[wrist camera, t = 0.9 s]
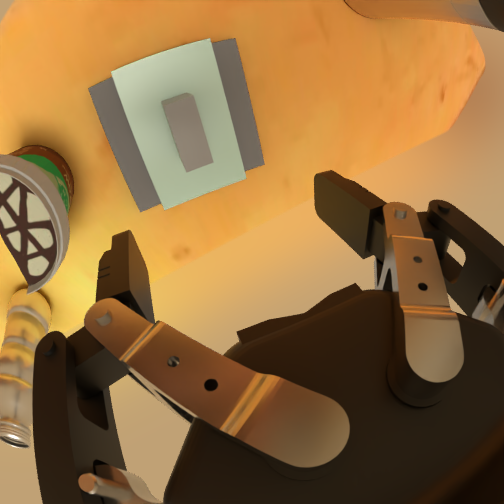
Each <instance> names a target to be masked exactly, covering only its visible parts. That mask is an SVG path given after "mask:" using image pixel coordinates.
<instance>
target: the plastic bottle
mask: <svg viewBox="0 0 504 504" xmlns="http://www.w3.org/2000/svg"><path fill="white" fill-rule="evenodd" d="M27 290H28V289H21V290H19V291H17V292H16V293H14V295H13V297H12V298H11V300H10V302H9V305H8V310H7V323H6V329H5V335H4V341H3V344H2V348H1V351H0V440H1V441H3V442H5V443H7V444H9V445H11V446H14V447H17V448H22V449H29V448H30V437H31V431H30V430H29V426H30V425H31V424H32V423H33V416H32V390H33V368H34V355H35V349H36V347H37V345H38V343H39V341H40V340H41V339H42V338H43V337H44V336H45V335H46V334H47V333H48V330H49V327H50V324H51V310H50V307H49V304H48V302H47V301H46V299H45V298H44V297H43V296H42V295H41V294H40V293H39V292H37V291H35V292H33V293H30V294H28V295H27Z"/></svg>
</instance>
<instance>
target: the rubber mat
mask: <svg viewBox="0 0 504 504" xmlns="http://www.w3.org/2000/svg"><path fill="white" fill-rule="evenodd" d="M211 44H212V48H213V51H214V55H215V59H216V63H217V66H218V70H219V74H220V78H221V81H222V85H223V89H224V93H225V97H226V100H227V104H228V108H229V112H230V116H231V120H232V123H233V127H234V131H235V135H236V139H237V143H238V147H239V151H240V155H241V159H242V163H243V167H244V170H245V171H247V170H250V169H253V168H255V167H258V166H261V165H264V159H263V154H262V150H261V145H260V140H259V136H258V131H257V127H256V122H255V118H254V114H253V109H252V105H251V101H250V96H249V92H248V88H247V84H246V79H245V75H244V71H243V67H242V63H241V59H240V55H239V51H238V47H237V43H236V39H235V38H233V39H228V40H224V41H219V42H215V43H211ZM88 89H89V92H90V95H91V97H92V100H93V103H94V106H95V108H96V111H97V114H98V116H99V119H100V121H101V124H102V126H103V129H104V131H105V134H106V136H107V139H108V141H109V144H110V146H111V148H112V151H113V153H114V155H115V158H116V160H117V162H118V165H119V167H120V169H121V172H122V174H123V176H124V178H125V180H126V183H127V185H128V187H129V189H130V191H131V193H132V196H133V198H134V200H135V202H136V204H137V206H138V208H139V210H140V212H142V211H145V210H147V209H149V208H152V207H154V206H156V205H159V204H161V201H160V198H159V196H158V194H157V192H156V189H155V187H154V184H153V182H152V180H151V177H150V175H149V173H148V170H147V168H146V165H145V163H144V160H143V158H142V155H141V153H140V150H139V148H138V145H137V143H136V140H135V138H134V135H133V132H132V130H131V127H130V124H129V122H128V119H127V116H126V114H125V111H124V108H123V105H122V103H121V100H120V97H119V94H118V91H117V88H116V86H115V83H114V80H113V77H111V78H109V79H107V80H105V81H102V82H100V83H98V84H96V85H94V86H92V87H90V88H88Z"/></svg>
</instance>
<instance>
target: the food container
mask: <svg viewBox="0 0 504 504" xmlns="http://www.w3.org/2000/svg"><path fill="white" fill-rule="evenodd" d="M73 194H74V182H73V176H72V173H71V170H70V168H69V166H68V164H67V163H66V162H65V160H64V159H63V158H62V157H61V156H60V155H59V154H58V153H57V152H55V151H54V150H52V149H50V148H48V147H44V146H38V145H32V146H26V147H23V148H21V149H18V150H16V151H14V152H12V153H10V154H8V155H1V154H0V234H1V237H2V239H3V240H4V242H5V244H6V246H7V247H8V249H9V251H10V252H11V254H12V255H13V257H14V259H15V261H16V262H17V264H18V266H19V268H20V270H21V272H22V274H23V276H24V277H25V279H26V281H27V283H28V290H27V295H28V294H30V293H33V292H35V291H37V290H39V289H40V288H41V287H43V286H44V285H45V284H46V283H47V282H48V281H49V280H50V279H51V278H52V277H53V276H54V274H55V273H56V271H57V270H58V268H59V266H60V265H61V263H62V261H63V259H64V258H65V255H66V252H67V249H68V244H69V231H70V229H69V220H68V212H69V208H70V205H71V201H72V197H73Z"/></svg>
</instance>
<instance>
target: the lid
mask: <svg viewBox="0 0 504 504" xmlns="http://www.w3.org/2000/svg"><path fill="white" fill-rule="evenodd" d="M111 74H112V77H113V80H114V83H115V86H116V88H117V91H118V94H119V97H120V100H121V103H122V105H123V108H124V111H125V114H126V116H127V119H128V122H129V124H130V127H131V130H132V132H133V135H134V138H135V140H136V143H137V145H138V148H139V150H140V153H141V155H142V158H143V160H144V163H145V165H146V168H147V170H148V173H149V175H150V177H151V180H152V182H153V184H154V187H155V189H156V192H157V194H158V196H159V198H160V201H161V203H162V205H163V208H164V210H167V209H169V208H171V207H174V206H176V205H179V204H181V203H184V202H186V201H189V200H191V199H194V198H196V197H199V196H201V195H204V194H206V193H209V192H212V191H214V190H217V189H219V188H222V187H225V186H227V185H230V184H233V183H236V182H238V181H241V180H244V179H247V178H246V174H245V170H244V167H243V163H242V159H241V155H240V151H239V147H238V143H237V139H236V135H235V131H234V127H233V123H232V120H231V116H230V112H229V108H228V104H227V100H226V97H225V93H224V89H223V85H222V81H221V78H220V74H219V70H218V66H217V63H216V59H215V55H214V51H213V48H212V44H211V40H210V38H209V39H205V40H201V41H197V42H193V43H189V44H186V45H182V46H179V47H176V48H172V49H169V50H166V51H163V52H160V53H157V54H154V55H151V56H149V57H146V58H143V59H141V60H138V61H135V62H133V63H130V64H128V65H125V66H123V67H121V68H118V69H116V70H114V71H111Z"/></svg>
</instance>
